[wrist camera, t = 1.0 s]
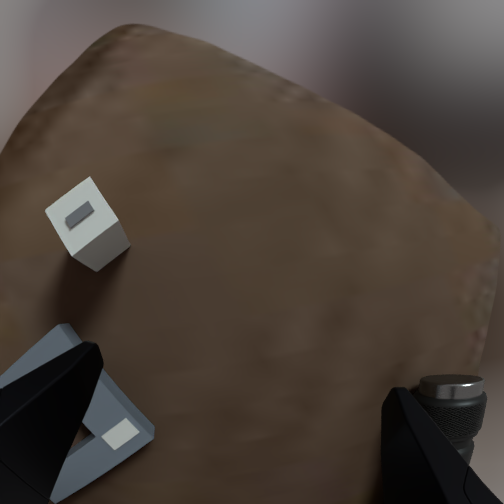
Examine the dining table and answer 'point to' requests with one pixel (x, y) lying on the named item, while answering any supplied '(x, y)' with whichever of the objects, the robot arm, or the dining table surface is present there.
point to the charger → (88, 226)
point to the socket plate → (89, 418)
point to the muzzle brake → (454, 407)
